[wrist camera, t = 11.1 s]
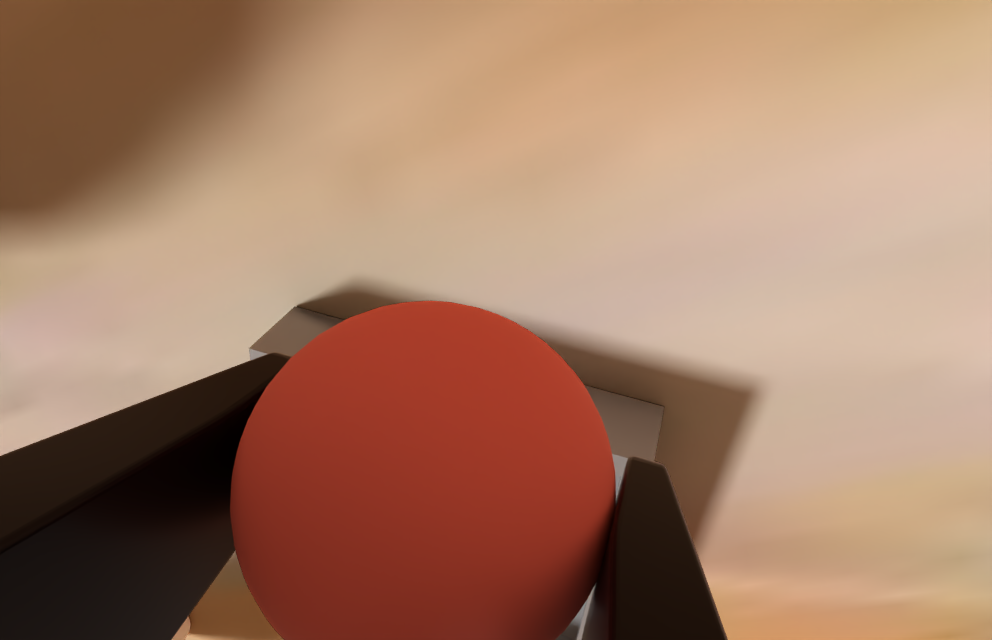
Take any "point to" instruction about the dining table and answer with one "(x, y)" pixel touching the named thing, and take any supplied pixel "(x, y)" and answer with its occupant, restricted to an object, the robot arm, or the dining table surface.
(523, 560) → the tomato
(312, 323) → the dish
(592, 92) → the dining table surface
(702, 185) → the dining table surface
